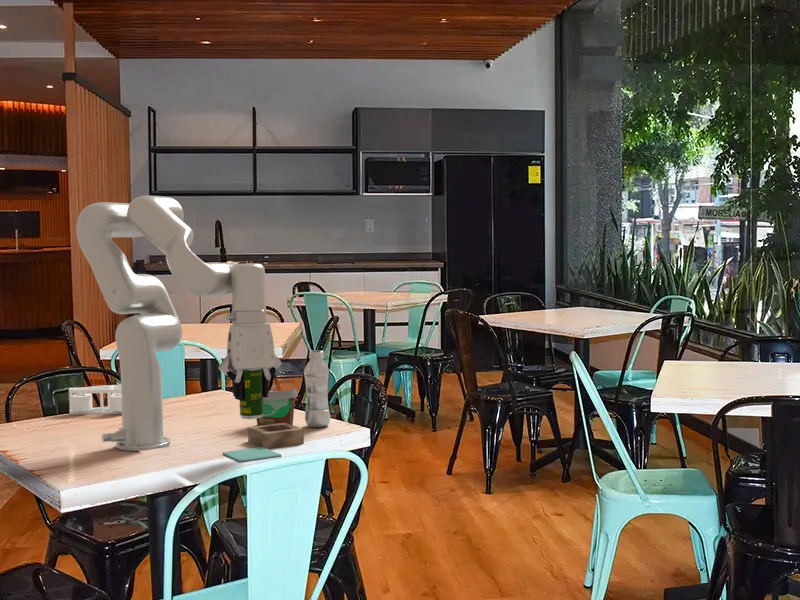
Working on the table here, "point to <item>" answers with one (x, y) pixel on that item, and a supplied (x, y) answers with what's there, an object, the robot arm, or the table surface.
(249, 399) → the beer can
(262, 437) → the walnut socket block
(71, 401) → the white slotted holder
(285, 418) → the food container
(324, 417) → the plastic bottle
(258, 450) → the teal mat
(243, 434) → the table surface
